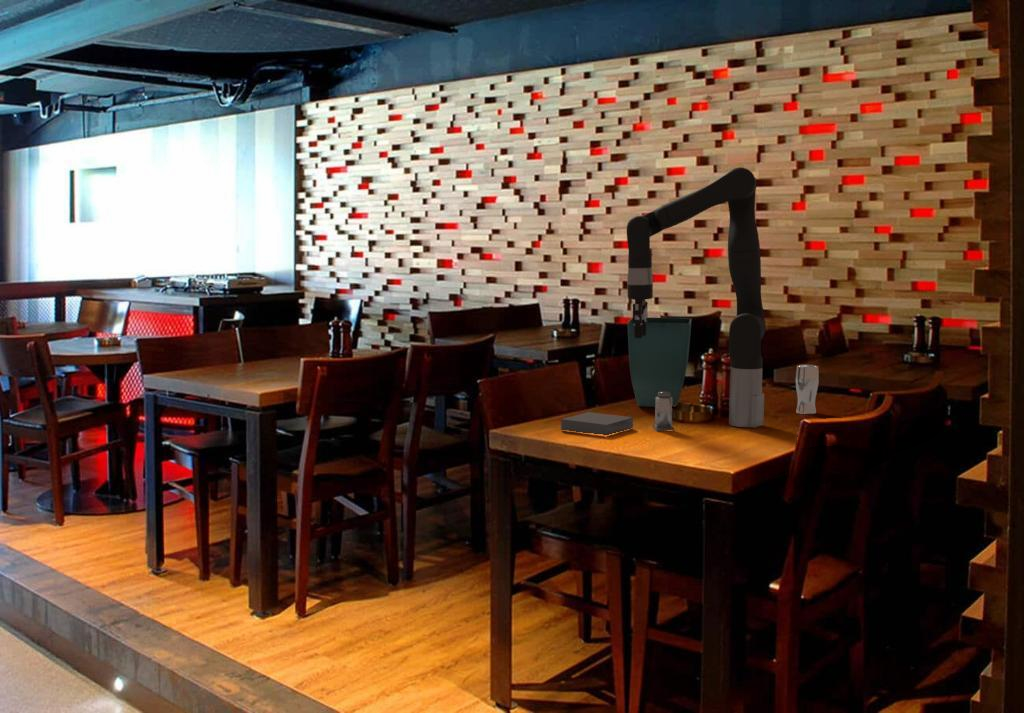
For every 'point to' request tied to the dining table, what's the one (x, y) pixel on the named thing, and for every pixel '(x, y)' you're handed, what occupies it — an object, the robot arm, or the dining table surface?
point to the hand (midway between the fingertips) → (640, 337)
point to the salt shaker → (663, 412)
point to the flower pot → (659, 358)
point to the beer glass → (806, 388)
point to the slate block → (597, 423)
